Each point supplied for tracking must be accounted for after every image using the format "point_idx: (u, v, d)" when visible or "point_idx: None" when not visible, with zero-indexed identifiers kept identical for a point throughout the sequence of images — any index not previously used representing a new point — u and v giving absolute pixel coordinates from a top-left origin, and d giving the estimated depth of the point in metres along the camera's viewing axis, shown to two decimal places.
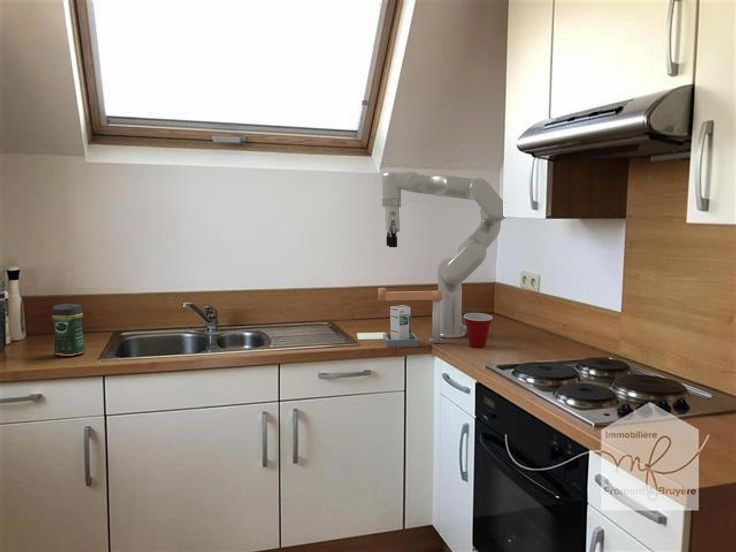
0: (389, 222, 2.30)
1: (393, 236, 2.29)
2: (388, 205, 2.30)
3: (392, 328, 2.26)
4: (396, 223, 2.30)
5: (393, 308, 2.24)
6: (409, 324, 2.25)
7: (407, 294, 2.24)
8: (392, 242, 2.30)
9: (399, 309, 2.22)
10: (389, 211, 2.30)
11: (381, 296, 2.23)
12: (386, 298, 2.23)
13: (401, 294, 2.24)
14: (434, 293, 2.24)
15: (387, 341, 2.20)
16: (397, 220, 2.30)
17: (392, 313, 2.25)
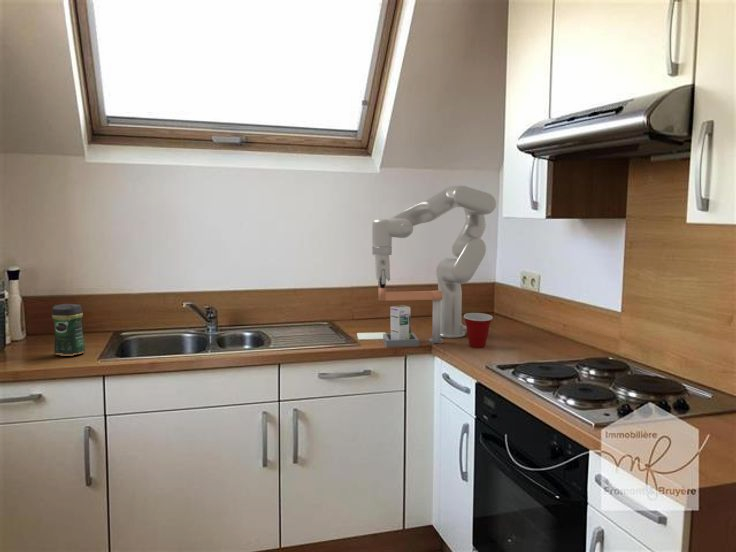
0: (379, 271, 2.23)
1: None
2: (378, 253, 2.23)
3: (392, 328, 2.26)
4: (386, 272, 2.23)
5: (393, 308, 2.24)
6: (409, 324, 2.25)
7: (407, 294, 2.24)
8: None
9: (399, 309, 2.22)
10: (379, 260, 2.23)
11: (381, 296, 2.23)
12: (386, 298, 2.23)
13: (402, 294, 2.24)
14: (434, 293, 2.24)
15: (387, 341, 2.20)
16: (387, 269, 2.23)
17: (392, 313, 2.25)
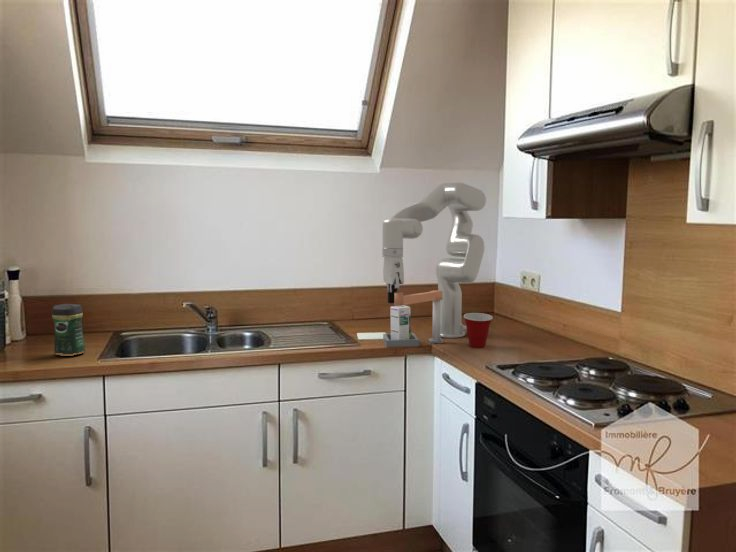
0: (393, 274, 2.09)
1: (393, 292, 2.14)
2: (391, 255, 2.10)
3: (392, 328, 2.26)
4: (401, 275, 2.10)
5: (393, 308, 2.24)
6: (409, 324, 2.25)
7: (419, 296, 2.17)
8: (393, 298, 2.14)
9: (399, 309, 2.22)
10: (393, 262, 2.09)
11: (400, 301, 2.10)
12: (404, 303, 2.12)
13: (415, 297, 2.16)
14: (438, 293, 2.24)
15: (387, 341, 2.20)
16: (401, 272, 2.10)
17: (392, 313, 2.25)
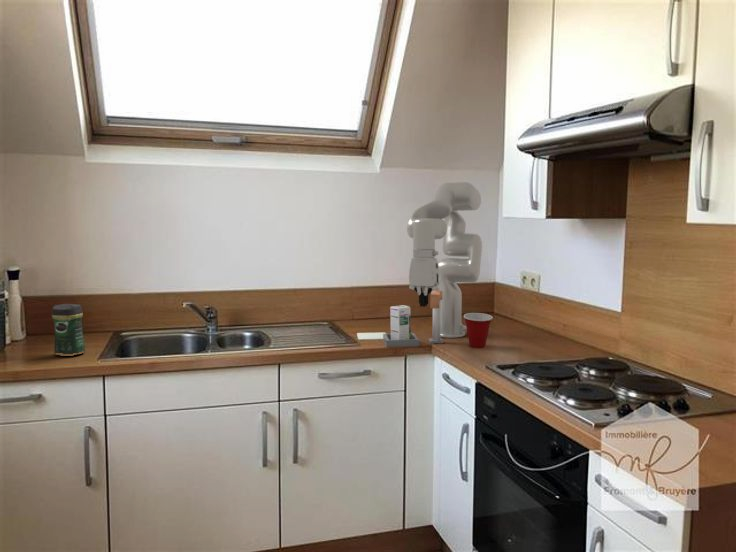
0: (435, 276, 2.03)
1: (427, 295, 2.06)
2: (431, 256, 2.03)
3: (392, 328, 2.26)
4: (438, 276, 2.05)
5: (393, 308, 2.24)
6: (409, 324, 2.25)
7: None
8: (427, 301, 2.06)
9: (399, 309, 2.22)
10: (434, 263, 2.03)
11: (438, 303, 2.04)
12: None
13: None
14: (441, 293, 2.24)
15: (387, 341, 2.20)
16: (438, 273, 2.06)
17: (392, 313, 2.25)
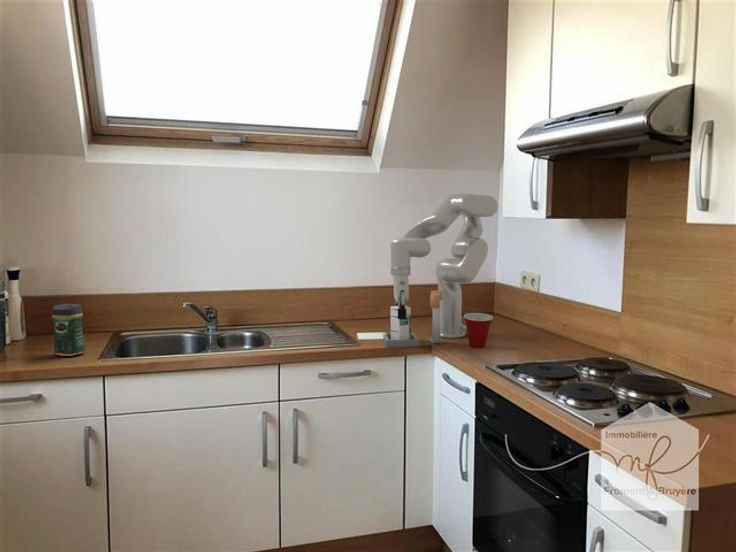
0: (398, 292, 2.20)
1: (402, 308, 2.20)
2: (397, 274, 2.21)
3: (392, 328, 2.26)
4: (405, 293, 2.20)
5: (393, 308, 2.24)
6: (409, 324, 2.25)
7: None
8: (401, 314, 2.21)
9: None
10: (398, 280, 2.20)
11: (439, 303, 2.04)
12: None
13: None
14: (441, 293, 2.24)
15: (387, 341, 2.20)
16: (406, 290, 2.20)
17: (392, 313, 2.25)
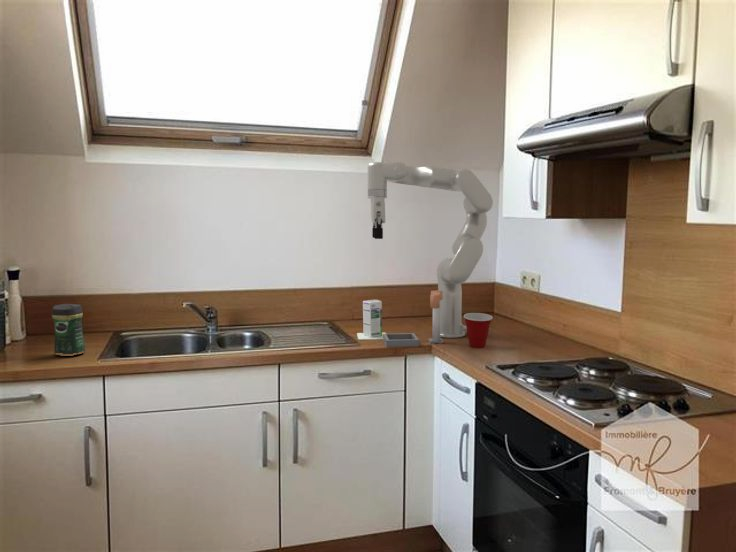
0: (374, 213, 2.25)
1: (378, 227, 2.24)
2: (373, 196, 2.26)
3: (364, 321, 2.38)
4: (381, 214, 2.25)
5: (365, 302, 2.37)
6: (380, 317, 2.37)
7: None
8: (377, 233, 2.25)
9: (370, 303, 2.34)
10: (374, 202, 2.25)
11: (439, 303, 2.04)
12: None
13: None
14: (441, 293, 2.24)
15: (387, 341, 2.20)
16: (383, 211, 2.25)
17: (364, 307, 2.38)
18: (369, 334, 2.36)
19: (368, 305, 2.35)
